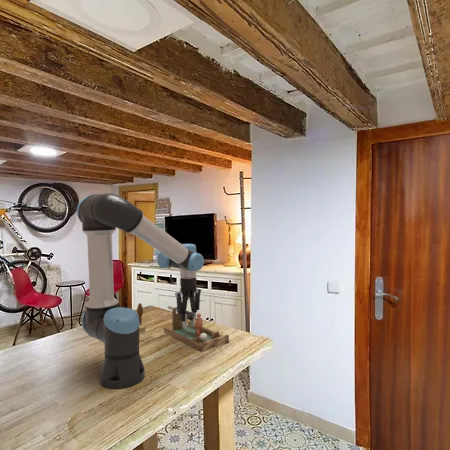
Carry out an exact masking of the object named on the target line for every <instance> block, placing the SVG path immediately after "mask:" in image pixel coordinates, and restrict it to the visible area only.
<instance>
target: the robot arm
mask: <svg viewBox="0 0 450 450" xmlns="http://www.w3.org/2000/svg"><path fill="white" fill-rule="evenodd" d="M76 216H77V218H78V220H79V221H80V223H82V225H81V228H82V232H83V233H84V234H85V235H86V237H87V241H86V242H87V259H88V260H87V261H88V263H87V264H88V286H89V287H88V288H89V290H88V291H89V300H88V301H87V302H86V303H85V309H84V310H85V311H84V312H83V313H82V315H81V318H80V319H81V321H80V322H81V327H82V329H83V331H84V332H85V333H86V334H87V335H88V336H89V337H91V338H94V339H96V340H98V341H100V342H102V343H104V348H103V349H104V359H103V363H102V365H101V367H100V372H99V377H98V378H99V384H100V385H101V386H103V387H104V388H107V389H125V388H129V387H132V386H135V385H137V384H138V383H140V382H141V381H143V380H144V378H145V375H146V374H145V371H146V369H145V366H144V363H143V359H142V357H141V355H140V341H139V325H140V323H139V316H138V313H137V310H135V309H133V308H130V307H120V306H119V300H118V299H117V298H115V290H114V289H115V288H114V266H113V265H114V264H113V258H114V257H113V237H112V236H113V234H114V233H115V231H116V229H119V230H120V231H123V232H124V233H126V234H132V235H134V236H135V237H137V238H138V239H140V240H141V241H143V242H144V243H146V244H147V245H149V247H152V248H153V249H154V250H156V251H158V254H157V257H156V259H157V260H156V261H157V265H158V266H159V268H161V269H170V268H172V269H177V270H179V277H180V278H179V279H180V280H179V281H180V283H179V285H180V289H179V291H178V292H174V295H175V297H176V307H177V312H176V314H177V313H179V314H181V320H182V321H183V328H185V329H187V326H188V319H187V314H186V311H187V307H188V301H189V304H190V312H192V313H194V316H196V317H197V314H198V311H199V310H200V305H201V304H200V303H201V292H202V289H200V288H197V272H198V271H201V270H202V268H203V267H204V264H205V259H204V256H203V255H202V254H201V253H198V252H197V246H196V244H193V243H180V242H179V241H178V240H177V239H175V238H174V237H173V236H171V235H170V234H169V233H168V232H166V231H165V230H163V229H162V228H160V227H159V226H158V225H157V224H155V223H154V222H153V221H152V220H150V219H148V218H147V217H146V216H144V212H143V210H141V208H139V207H138V206H136V205H135V204H133V203H132V202H131V201H129V200H127V199H126V198H124V197H122V195H118V194H117V193H116V194H115V193H112V192H107V193H95V194H94V193H92V194H90V195H87V196H85V197H84V198H82V199H81V200H80V201H79V202H78V204H77V207H76ZM189 322H190V326H192V327H195V320H194V319H193V320H189Z"/></svg>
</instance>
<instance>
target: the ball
mask: <svg viewBox="0 0 450 450" xmlns="http://www.w3.org/2000/svg"><path fill="white" fill-rule="evenodd" d="M200 340H201V341H206V340H207V334H205V333H202V334H201V335H200Z"/></svg>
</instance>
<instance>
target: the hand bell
mask: <svg viewBox="0 0 450 450" xmlns="http://www.w3.org/2000/svg"><path fill="white" fill-rule="evenodd" d="M143 311H144V309H143V305H142V303H138V304H137V308H136V312H137V313H138V316H139V323H140V325H139V342H140V341H142V340H144V339H147V338H150V336H149V334H148V333H147V331H146V326H145V324H143V323H142V322H143V321H142V320H143V318H142V317H143V313H144V312H143Z"/></svg>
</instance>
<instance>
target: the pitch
mask: <svg viewBox="0 0 450 450" xmlns="http://www.w3.org/2000/svg"><path fill="white" fill-rule="evenodd" d="M176 310H177V306H176V307H173V308H172V310H171V311H172V313H171V315H172V316H171V319H172V323H171V324H172V328H171V329H170V328H168V327H163V333H164V334H167V335H169V336H170V337H172V338H174V339H176V340H178V341H180V342H182V343H184V344H186V345H187V346H190V347H191V348H193V349H195V350H197V351H199V352H205V351H207V350H211V349H213V348H216V347H220V346H223V345H225V344H228V343H230V335H229V334H224V335H223V334H221V333H220V332H219V331H213V330H212V329H209V328H206V327H204V326H202V333H205V334H207V340H206V341H201V340H200V337H197V338H195V327H192V326H190V321H187V329H185V328H183V321H182V320H181V314H179V313H177V312H176Z"/></svg>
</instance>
